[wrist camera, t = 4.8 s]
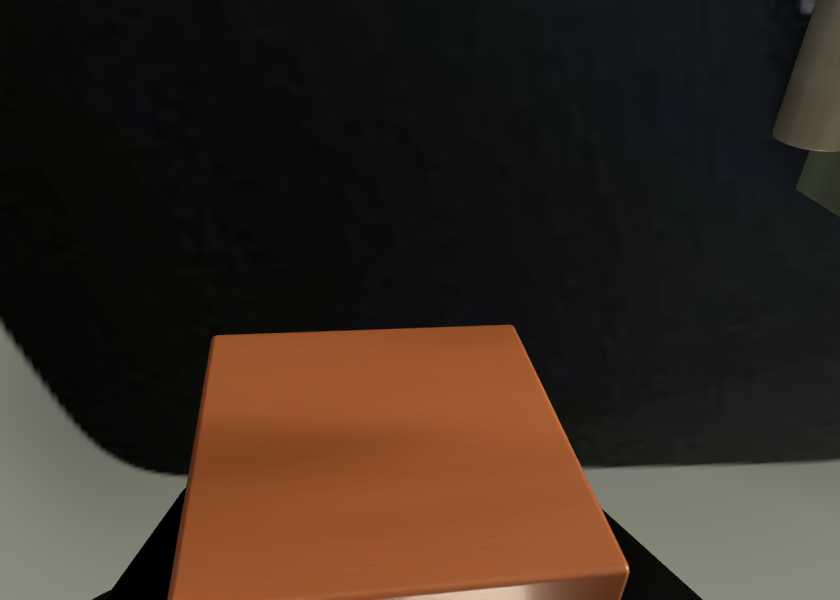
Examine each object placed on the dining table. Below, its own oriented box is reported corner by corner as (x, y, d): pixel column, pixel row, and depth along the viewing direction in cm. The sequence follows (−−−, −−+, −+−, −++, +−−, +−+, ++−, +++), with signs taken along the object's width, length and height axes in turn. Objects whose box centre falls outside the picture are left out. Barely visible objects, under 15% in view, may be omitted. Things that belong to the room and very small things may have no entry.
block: (483, 523, 12) (560, 790, 8) (235, 544, 11) (210, 843, 8) (513, 321, 10) (634, 569, 6) (210, 333, 9) (162, 616, 6)
